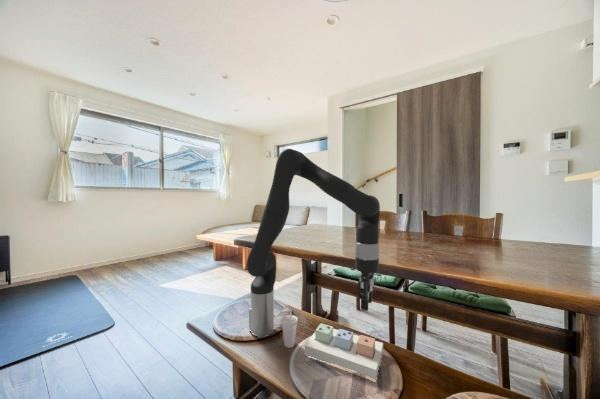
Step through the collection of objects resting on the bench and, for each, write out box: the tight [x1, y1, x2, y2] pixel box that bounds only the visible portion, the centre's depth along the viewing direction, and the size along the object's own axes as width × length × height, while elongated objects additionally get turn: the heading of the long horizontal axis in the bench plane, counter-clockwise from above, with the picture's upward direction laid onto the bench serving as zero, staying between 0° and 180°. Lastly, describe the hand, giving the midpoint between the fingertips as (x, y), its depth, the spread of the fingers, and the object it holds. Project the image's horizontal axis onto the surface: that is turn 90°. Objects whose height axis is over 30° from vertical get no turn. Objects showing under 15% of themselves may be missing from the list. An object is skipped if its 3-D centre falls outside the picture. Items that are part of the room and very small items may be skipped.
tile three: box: [335, 328, 354, 351], centre depth 81 cm, size 5×5×6 cm
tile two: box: [314, 322, 334, 344], centre depth 85 cm, size 5×5×6 cm
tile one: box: [357, 334, 376, 359], centre depth 78 cm, size 5×5×6 cm
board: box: [304, 328, 384, 380], centre depth 82 cm, size 24×14×4 cm, turn 62°
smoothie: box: [280, 307, 299, 349], centre depth 87 cm, size 6×6×14 cm
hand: (366, 305), depth 77 cm, fingers open, 5 cm apart
